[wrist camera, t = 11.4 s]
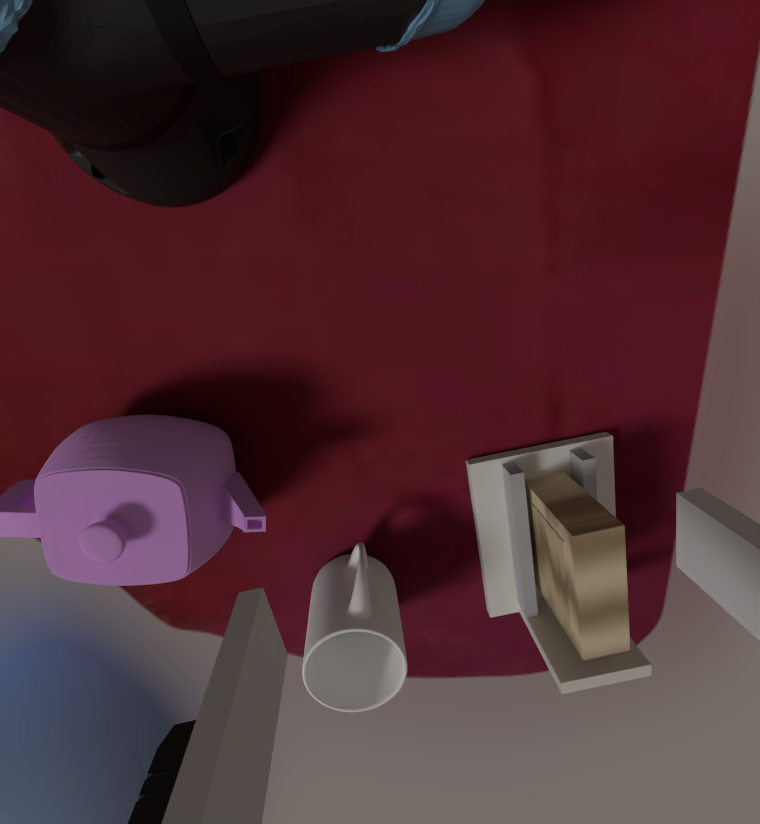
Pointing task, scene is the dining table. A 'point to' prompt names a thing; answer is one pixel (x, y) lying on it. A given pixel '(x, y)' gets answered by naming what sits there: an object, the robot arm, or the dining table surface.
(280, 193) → the dining table surface
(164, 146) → the robot arm
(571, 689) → the white stand
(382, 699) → the mug
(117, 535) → the teapot
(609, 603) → the door panel
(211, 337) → the dining table surface
